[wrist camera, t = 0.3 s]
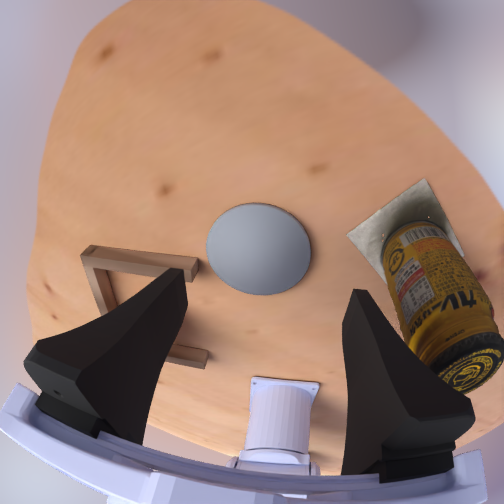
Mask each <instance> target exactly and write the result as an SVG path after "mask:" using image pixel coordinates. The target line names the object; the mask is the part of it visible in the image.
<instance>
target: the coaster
mask: <svg viewBox="0 0 504 504" xmlns="http://www.w3.org/2000/svg"><path fill="white" fill-rule="evenodd" d="M206 252H207V257H208V260H209V263H210V265H211V267H212V269H213V270H214V272H215V273H216V274H217V276H218V277H219V278H220V279H221V280H222V281H224V282H225V283H226V284H228V285H229V286H231V287H232V288H234V289H236V290H239V291H241V292H244V293H248V294H253V295H272V294H277V293H280V292H283V291H286V290H288V289H289V288H291V287H293V286H294V285H296V284H297V283H298V282H299V281H300V280H301V279H302V277H303V276H304V275H305V273H306V271H307V269H308V267H309V263H310V257H311V250H310V242H309V238H308V235H307V233H306V231H305V229H304V227H303V226H302V225H301V223H300V222H299V221H298V220H297V219H296V218H295V217H294V216H292V215H291V214H290V213H288V212H287V211H285V210H283V209H281V208H279V207H276V206H273V205H270V204H265V203H246V204H242V205H238V206H235V207H233V208H231V209H229V210H227V211H226V212H224V213H223V214H222V215H221V216H220V217H219V218H218V219H217V220H216V221H215V223H214V224H213V226H212V228H211V230H210V232H209V234H208V237H207V242H206Z"/></svg>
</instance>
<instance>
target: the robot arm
mask: <svg viewBox="0 0 504 504" xmlns="http://www.w3.org/2000/svg"><path fill="white" fill-rule="evenodd" d="M187 306H188V300H187V293H186V285H185V277H184V269H178V268H169V269H168V270H166V271H165V272H164V273H163V274H161V275H160V276H159V277H157V278H156V279H155V280H154V281H152V282H151V283H150V284H149V285H147V286H146V287H145V288H143V289H142V290H141V291H139V292H138V293H137V294H135V295H134V296H132V297H131V298H130V299H128V300H127V301H125V302H124V303H122V304H121V305H119V306H118V307H116V308H115V309H113V310H111V311H110V312H108V313H106V314H105V315H103V316H101V317H99V318H97V319H95V320H93V321H91V322H89V323H87V324H85V325H82V326H80V327H78V328H75V329H73V330H70V331H67V332H65V333H62V334H59V335H55V336H52V337H48V338H45V339H41V340H38V341H37V343H36V344H35V346H34V347H33V348H32V350H31V351H30V353H29V354H28V356H27V357H26V359H25V360H24V367H25V369H26V371H27V372H28V374H29V375H30V377H31V378H32V379H33V380H34V382H35V383H36V384H37V385H38V387H39V388H40V389H41V390H42V393H41V395H40V396H39V395H37V394H36V393H35V392H33V391H32V390H30V389H28V388H27V387H25V386H23V385H21V384H20V383H17V384H16V385H15V387H14V389H13V390H12V392H11V394H10V395H9V397H8V399H7V401H6V402H5V404H4V405H3V407H2V409H1V411H0V430H1V431H2V432H3V433H5V434H6V435H7V436H8V437H10V438H11V439H12V440H13V441H15V442H16V443H17V444H19V445H20V446H21V447H23V448H24V449H26V450H27V451H28V452H30V453H31V454H33V455H34V456H36V457H38V458H39V459H40V460H42V461H43V462H45V463H47V464H48V465H50V466H51V467H53V468H55V469H56V470H58V471H60V472H61V473H63V474H65V475H67V476H69V477H70V478H72V479H74V480H76V481H78V482H80V483H81V484H83V485H85V486H87V487H89V488H91V489H93V490H96V491H98V492H100V493H102V494H104V495H107V496H109V497H108V500H107V502H106V504H481V503H483V502H485V501H487V499H488V498H487V488H486V480H485V473H484V467H483V460H482V455H481V450H480V449H477V450H474V451H470V452H466V453H462V454H460V455H457V456H455V457H453V454H452V451H453V450H455V448H456V446H455V440H456V439H458V438H459V437H460V436H462V435H463V434H464V433H465V432H467V431H468V430H469V429H470V428H471V427H472V425H473V424H474V422H475V414H474V410H473V407H472V403H471V400H470V398H468V397H466V396H465V395H463V394H462V393H460V392H459V391H457V390H456V389H454V388H453V387H451V386H450V385H449V384H448V383H446V382H445V381H444V380H442V379H441V378H440V377H439V376H437V375H436V374H435V373H434V372H433V371H432V370H431V369H430V368H429V367H427V366H426V365H425V364H424V363H423V362H422V361H421V360H420V359H419V358H418V357H417V356H416V355H415V354H414V352H413V351H412V350H411V349H410V348H409V347H408V346H407V345H406V343H405V342H404V341H403V340H402V339H401V337H400V336H399V335H398V334H397V332H396V331H395V330H394V328H393V327H392V326H391V324H390V323H389V321H388V320H387V319H386V317H385V316H384V314H383V313H382V311H381V310H380V308H379V307H378V306H377V304H376V303H375V301H374V300H373V298H372V297H371V295H370V294H369V292H368V291H367V290H361V289H353V292H352V295H351V298H350V301H349V304H348V307H347V310H346V313H345V316H344V319H343V322H342V345H343V353H344V362H345V370H346V379H347V388H348V413H347V430H346V441H345V451H344V458H343V465H342V471H341V475H340V476H320V467H319V466H318V465H317V464H316V462H310V455H308V448H309V432H310V411H311V406H312V403H313V401H314V399H315V396H316V394H317V392H318V389H319V383H316V382H302V381H290V380H280V379H271V378H262V377H252V379H251V393H250V412H251V413H250V418H249V424H248V429H247V435H246V440H245V446H244V450H240V455H239V457H236V456H235V457H233V458H232V459H231V460H229V461H228V462H227V464H226V466H225V467H224V466H219V465H214V464H209V463H204V462H200V461H195V460H191V459H186V458H183V457H179V456H175V455H171V454H168V453H164V452H160V451H157V450H154V449H151V448H147V447H144V446H142V444H143V438H144V433H145V428H146V423H147V418H148V414H149V410H150V406H151V402H152V398H153V395H154V391H155V388H156V384H157V381H158V378H159V375H160V372H161V369H162V367H163V364H164V362H165V360H166V357H167V355H168V353H169V351H170V349H171V347H172V345H173V342H174V340H175V338H176V336H177V334H178V332H179V329H180V327H181V325H182V322H183V319H184V316H185V313H186V310H187ZM150 468H151V469H150ZM153 469H154V470H158V471H153Z"/></svg>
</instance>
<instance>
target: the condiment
mask: <svg viewBox="0 0 504 504" xmlns="http://www.w3.org/2000/svg"><path fill="white" fill-rule="evenodd" d="M428 216H429V217H430V218H428ZM383 233H384V237H382V234H383ZM346 235H347V236H348V237H349V239H350V240H351V241H352V242H353V244H354V245H355V246H356V247H357V248H358V249H359V251H360V252H361V253H362V254H363V255H364V257H365V258H366V259H367V261H368V262H369V263H370V264H371V266H372V267H373V268H374V269H375V270H376V272H377V273H378V274H379V275H380V277H381V278H382V279H383V280H384V282H385V283H386V284H387V286H388V290H389V292H390V296H391V297H392V300H393V303H394V305H395V310H396V312H397V316H398V319H399V321H400V329H401V331H402V333H403V337H404V341H405V343H406V345H407V346H408V347H409V348H410V349H411V350H412V351H413V352H414V354H415V355H416V356H417V357H418V358H419V359H420V360H421V361H422V362H423V363H424V364H425V365H426V366H427V367H429V368H430V369H431V370H432V371H433V372H434V373H435V374H436V375H437V376H439V377H440V378H441V379H442V380H444V381H445V382H446V383H448V384H449V385H450V386H451V387H453V388H454V389H456V390H457V391H459V392H460V393H462V394H463V395H464V394H467V393H469V392H471V391H473V390H475V389H477V388H478V387H480V386H482V385H483V384H484V383H485V382H487V381H488V380H489V379H490V378H491V377H492V376H493V375H494V374H495V373H496V371H497V370H498V369H499V367H500V366H501V365H502V363H503V360H504V339H503V338H502V337H501V335H500V334H499V330H498V326H497V325H496V323H495V321H494V309H493V307H492V304H491V301H490V300H489V298H488V296H487V295H486V293H485V292H484V290H483V288H482V286H481V285H480V283H479V282H478V280H477V279H476V277H475V276H474V274H473V273H472V271H471V270H470V268H469V266H468V265H467V264H466V262H465V261H464V259H463V258H462V257H463V256H464V253H463V251H462V249H461V247H460V244H459V242H458V240H457V238H456V236H455V234H454V232H453V230H452V228H451V226H450V224H449V222H448V219H447V218H446V216H445V213H444V212H443V210H442V208H441V206H440V204H439V203H438V201H437V199H436V197H435V195H434V194H433V192H432V190H431V188H430V186H429V185H428V183H427V181H426V180H425V178H424V179H422V180H421V181H419V182H418V183H417V184H415V185H413V186H412V187H410V188H409V189H408V190H406V191H405V192H403V193H402V194H401V195H400V196H398V197H396V198H395V199H394V200H392V201H391V202H390V203H388V204H387V205H386V206H384V207H383V208H382V209H380V210H378V211H377V212H376V213H375V214H374V215H372V216H371V217H370V218H368V219H367V220H365V221H364V222H362V223H361V224H360V225H359V226H357V227H356V228H355V229H353V230H352V231H350V232H349V233H348V234H346ZM382 239H384V241H383V242H382Z"/></svg>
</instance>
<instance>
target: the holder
mask: <svg viewBox="0 0 504 504" xmlns="http://www.w3.org/2000/svg"><path fill="white" fill-rule="evenodd" d="M80 257H81V260H82V263H83V266H84V269H85V272H86V275H87V278H88V281H89V284H90V287H91V290H92V292H93V295H94V298H95V301H96V303H97V306H98V308H99V311H100V313H101V316H103V315H105V314H106V313H108V312H110V311H111V310H113V309H115V308H116V307H118V306H117V303H116V300H115V297H114V294H113V291H112V288H111V285H110V282H109V279H108V275H107V272H106V270H111V271H117V272H123V273H130V274H136V275H143V276H149V277H156V278H157V277H159V276H160V275H161V274H163V273H164V272H165V271H166V270H168V269H169V268H178V269H184V277H185V282H191V283H192V282H193V280H194V278H195V276H196V274H197V271H198V259H197V258H195V257H186V256H177V255H169V254H160V253H152V252H143V251H135V250H126V249H118V248H110V247H102V246H94V245H90V246H89V247H88V248H87V249H86V250H85V251H84V252H83V253H82V254H81V255H80ZM207 359H208V351H207V350H202V349H197V348H191V347H186V346H181V345H175V344H173V345H172V347H171V349H170V351H169V353H168V355H167V357H166V360H165V361H166V362H170V363H175V364H179V365H184V366H189V367H194V368H200V369H205V366H206V363H207Z"/></svg>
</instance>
